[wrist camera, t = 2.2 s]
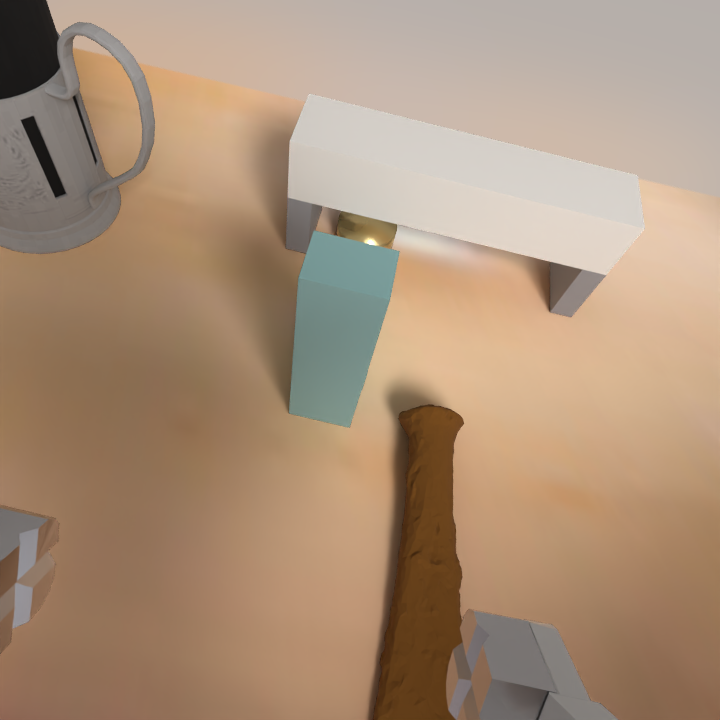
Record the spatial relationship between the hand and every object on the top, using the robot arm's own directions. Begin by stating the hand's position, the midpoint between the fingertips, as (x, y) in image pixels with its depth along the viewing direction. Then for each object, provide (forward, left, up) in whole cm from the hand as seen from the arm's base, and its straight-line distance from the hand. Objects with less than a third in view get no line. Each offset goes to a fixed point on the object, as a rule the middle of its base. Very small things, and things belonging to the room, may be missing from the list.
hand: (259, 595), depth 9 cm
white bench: (-5, -25, -17) cm, 31 cm away
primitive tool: (-7, -3, -18) cm, 20 cm away
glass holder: (+18, -22, -18) cm, 33 cm away
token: (0, -26, -18) cm, 31 cm away
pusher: (0, -17, -17) cm, 24 cm away
